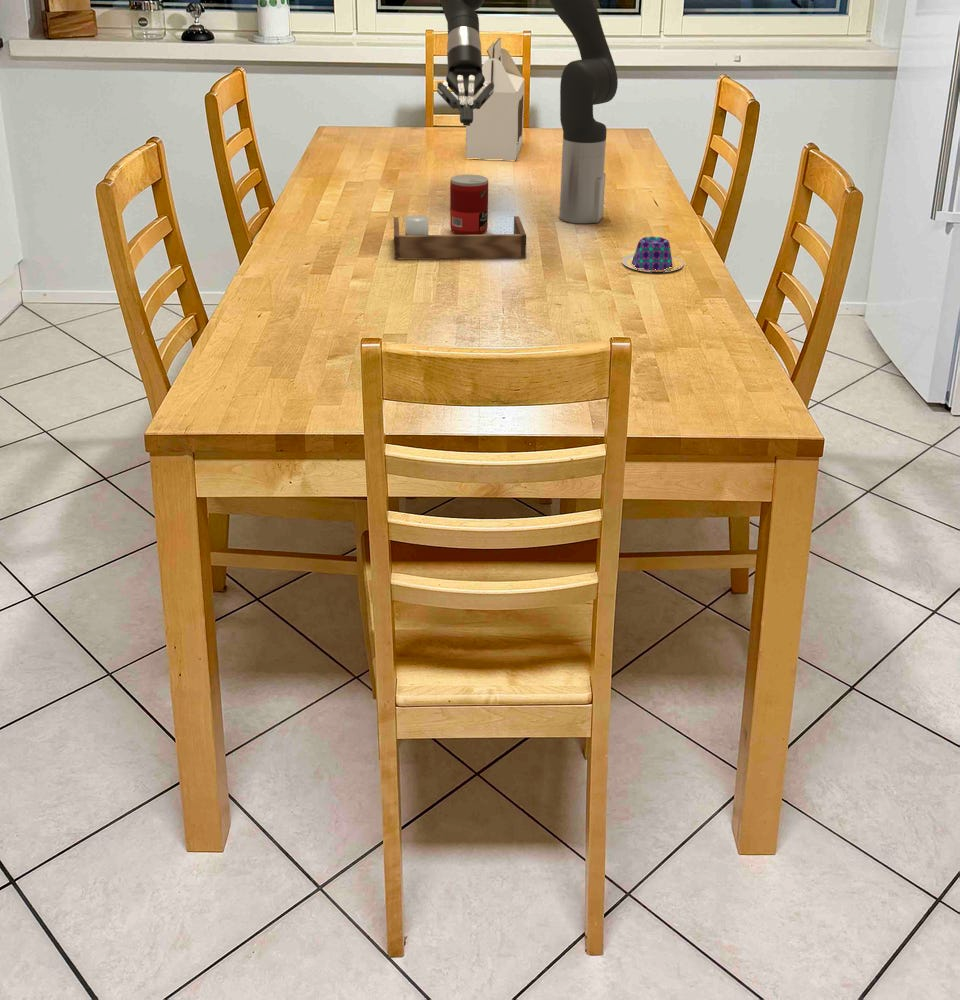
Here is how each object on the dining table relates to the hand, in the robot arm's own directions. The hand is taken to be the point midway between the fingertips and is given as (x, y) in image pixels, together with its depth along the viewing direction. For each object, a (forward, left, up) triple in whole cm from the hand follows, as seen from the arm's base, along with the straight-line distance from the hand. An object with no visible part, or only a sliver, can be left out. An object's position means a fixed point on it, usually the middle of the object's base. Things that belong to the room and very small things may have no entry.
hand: (466, 123), depth 248 cm
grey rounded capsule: (+1, +32, -19) cm, 37 cm away
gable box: (+10, -61, -20) cm, 65 cm away
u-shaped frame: (-6, +26, -19) cm, 33 cm away
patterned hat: (-45, +25, -20) cm, 55 cm away
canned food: (-5, +13, -20) cm, 24 cm away
